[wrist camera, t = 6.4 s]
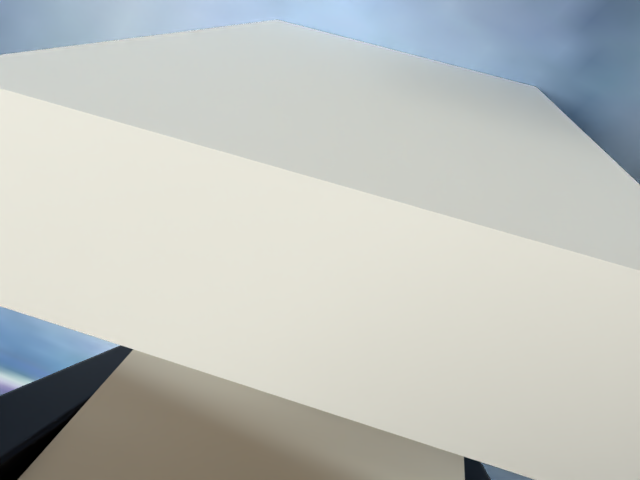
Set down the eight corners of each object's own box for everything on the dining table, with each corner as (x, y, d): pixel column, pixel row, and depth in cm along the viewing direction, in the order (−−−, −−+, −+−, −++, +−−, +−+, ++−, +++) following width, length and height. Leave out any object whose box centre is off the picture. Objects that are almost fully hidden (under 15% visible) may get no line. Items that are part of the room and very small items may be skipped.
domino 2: (504, 168, 11) (628, 511, 4) (263, 102, 11) (-60, 286, 4) (536, 86, 10) (771, 308, 3) (277, 19, 10) (-83, 64, 3)
